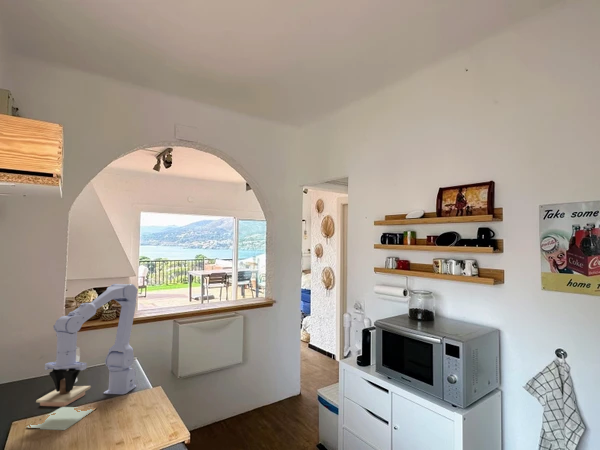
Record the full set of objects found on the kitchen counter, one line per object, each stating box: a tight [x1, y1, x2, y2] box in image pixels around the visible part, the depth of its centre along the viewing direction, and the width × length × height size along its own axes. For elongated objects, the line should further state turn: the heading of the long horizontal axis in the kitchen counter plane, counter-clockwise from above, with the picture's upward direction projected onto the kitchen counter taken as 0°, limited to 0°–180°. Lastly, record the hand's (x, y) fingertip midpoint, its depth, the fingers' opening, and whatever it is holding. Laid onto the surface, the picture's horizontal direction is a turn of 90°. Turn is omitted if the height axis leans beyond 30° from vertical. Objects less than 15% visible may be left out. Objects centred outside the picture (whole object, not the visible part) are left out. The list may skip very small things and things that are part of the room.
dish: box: [39, 391, 86, 408], centre depth 124 cm, size 10×10×2 cm
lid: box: [35, 378, 92, 404], centre depth 111 cm, size 11×11×5 cm
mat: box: [26, 406, 94, 431], centre depth 110 cm, size 14×14×1 cm
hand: (64, 390), depth 111 cm, fingers closed on lid, 3 cm apart
